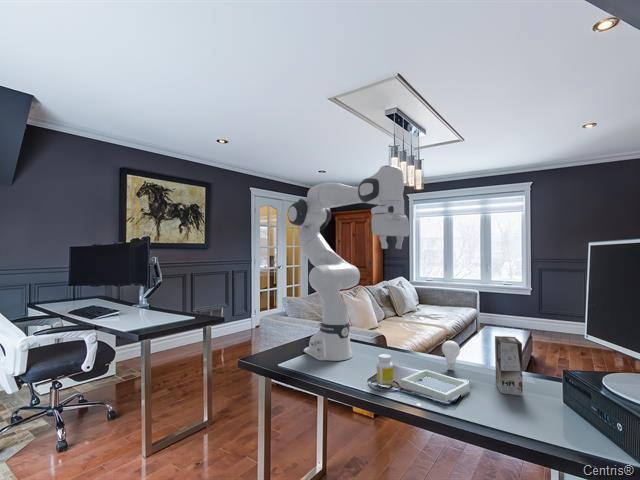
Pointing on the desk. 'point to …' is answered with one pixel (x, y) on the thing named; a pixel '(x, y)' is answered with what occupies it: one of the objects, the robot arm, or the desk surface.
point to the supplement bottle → (385, 370)
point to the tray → (409, 382)
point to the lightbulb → (450, 353)
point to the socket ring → (380, 389)
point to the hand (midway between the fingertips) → (391, 248)
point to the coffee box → (508, 365)
